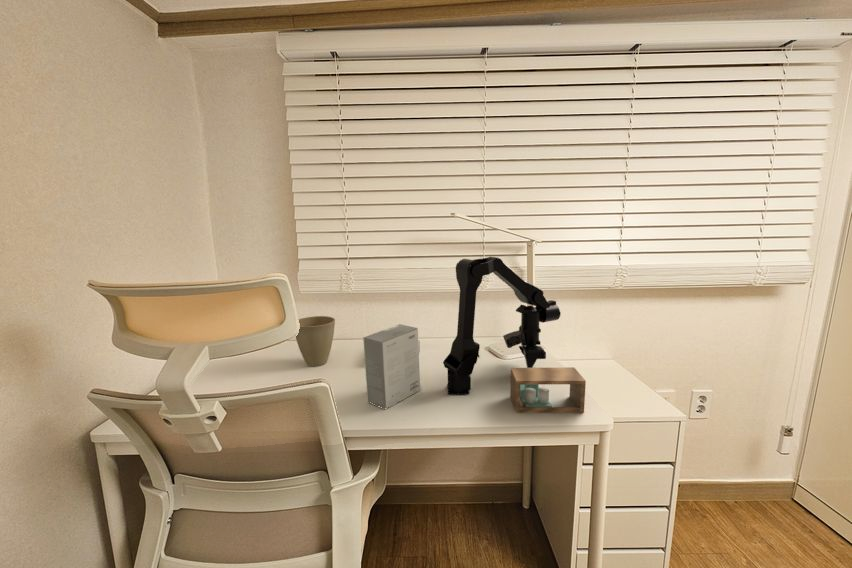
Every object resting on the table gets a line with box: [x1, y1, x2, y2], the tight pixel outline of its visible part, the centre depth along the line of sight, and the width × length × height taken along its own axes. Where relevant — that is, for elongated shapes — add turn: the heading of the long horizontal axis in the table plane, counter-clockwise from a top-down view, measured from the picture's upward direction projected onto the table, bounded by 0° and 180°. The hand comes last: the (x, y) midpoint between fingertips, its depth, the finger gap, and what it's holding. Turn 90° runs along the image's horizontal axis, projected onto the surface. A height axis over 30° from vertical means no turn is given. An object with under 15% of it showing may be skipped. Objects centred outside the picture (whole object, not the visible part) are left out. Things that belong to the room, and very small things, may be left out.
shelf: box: [509, 366, 586, 413], centre depth 108 cm, size 18×9×9 cm, turn 88°
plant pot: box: [295, 315, 336, 367], centre depth 142 cm, size 15×15×16 cm
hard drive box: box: [362, 324, 421, 410], centre depth 114 cm, size 16×8×20 cm, turn 141°
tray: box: [520, 384, 553, 407], centre depth 116 cm, size 18×7×5 cm, turn 1°
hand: (529, 369), depth 130 cm, fingers closed
